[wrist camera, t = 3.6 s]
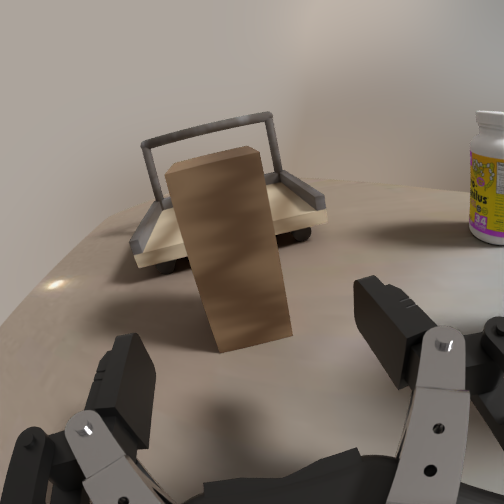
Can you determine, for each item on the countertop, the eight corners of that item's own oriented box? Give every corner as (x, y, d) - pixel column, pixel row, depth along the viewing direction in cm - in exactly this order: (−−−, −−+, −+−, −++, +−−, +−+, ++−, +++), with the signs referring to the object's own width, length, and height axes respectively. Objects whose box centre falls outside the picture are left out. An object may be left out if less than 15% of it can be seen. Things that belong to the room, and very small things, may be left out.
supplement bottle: (463, 221, 30) (460, 109, 25) (510, 222, 27) (511, 112, 22) (475, 247, 25) (476, 112, 19) (529, 248, 22) (535, 117, 16)
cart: (144, 284, 32) (101, 153, 26) (163, 231, 47) (138, 142, 42) (329, 240, 33) (309, 103, 27) (289, 201, 48) (272, 110, 43)
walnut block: (220, 353, 20) (164, 174, 15) (216, 312, 25) (173, 163, 20) (292, 335, 21) (259, 151, 16) (277, 297, 25) (247, 145, 20)
